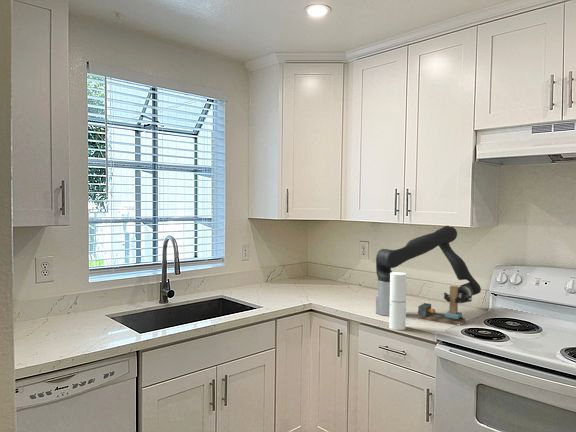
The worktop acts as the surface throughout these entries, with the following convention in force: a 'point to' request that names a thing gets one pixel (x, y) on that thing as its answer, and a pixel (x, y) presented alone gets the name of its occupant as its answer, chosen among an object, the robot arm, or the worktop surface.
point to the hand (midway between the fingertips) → (452, 300)
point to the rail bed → (436, 316)
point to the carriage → (453, 304)
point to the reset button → (431, 311)
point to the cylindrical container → (397, 301)
